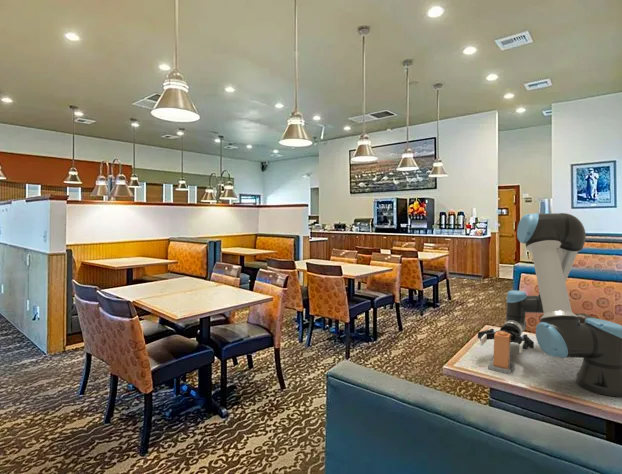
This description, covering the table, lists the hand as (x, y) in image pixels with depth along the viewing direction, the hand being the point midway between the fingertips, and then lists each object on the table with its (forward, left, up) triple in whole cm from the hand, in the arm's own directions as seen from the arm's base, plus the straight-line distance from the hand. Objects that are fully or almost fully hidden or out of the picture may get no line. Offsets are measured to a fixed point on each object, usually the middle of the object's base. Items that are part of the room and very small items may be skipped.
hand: (500, 345), depth 145 cm
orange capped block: (+3, -2, -8) cm, 9 cm away
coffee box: (+18, -46, -10) cm, 51 cm away
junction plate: (+3, -2, -10) cm, 11 cm away
